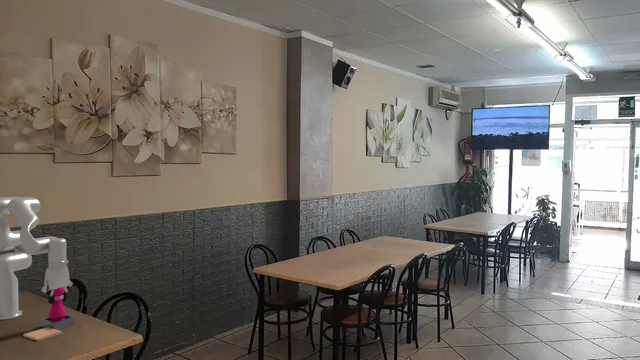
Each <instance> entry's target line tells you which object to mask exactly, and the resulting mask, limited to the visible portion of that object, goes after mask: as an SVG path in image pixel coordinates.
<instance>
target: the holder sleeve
mask: <svg viewBox="0 0 640 360" xmlns="http://www.w3.org/2000/svg"><path fill="white" fill-rule="evenodd" d="M76 317H77V316H74V315H70V314H67V313H66V316H65V317H64V319H65V320H61V321H58V322H52V321H50V320H51V319H50V318H49V316H48V317H44V318H41V319H40V327H41V328H46V327H49V328H52V329H56V330H62V329H64V328H68V327H70V326H74V325H76V324H77V322H76V321H77V318H76Z"/></svg>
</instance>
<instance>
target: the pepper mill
mask: <svg viewBox="0 0 640 360" xmlns="http://www.w3.org/2000/svg"><path fill="white" fill-rule="evenodd" d="M64 291H65V289H64V287H59V288H57V289H55V290H54V293H53V296H54V304H51V307H50V309H49V312H48V317H49V318H50V319H51V320H50V321H52V322H58V321H61V320H65V319H64V317H65V316H66V314H67V311H66V309H65V306H64V304H63V301H62V298H63V293H64Z"/></svg>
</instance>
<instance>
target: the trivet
mask: <svg viewBox="0 0 640 360" xmlns="http://www.w3.org/2000/svg"><path fill="white" fill-rule="evenodd" d="M61 334H63V331H62V330H60V329H58V330H56V329H52V328H49V327H46V328H44V327H42V328H41V329H38V330H37V329H36V330H33V331H29V332H26V333H24V334H23V338H27V339H29V340H33V341H36V342H39V341H43V340H45V339H50V338H52V337H55V336H58V335H61Z"/></svg>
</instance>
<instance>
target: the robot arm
mask: <svg viewBox="0 0 640 360" xmlns="http://www.w3.org/2000/svg"><path fill="white" fill-rule="evenodd" d="M41 208H42V207H41V202H40V201H39V199H37V198H36V197H33V196H32V197H31V196H7V197H6V196H4V197H3V196H1V197H0V252H1V253H2V252H6V253H3V254H0V321H2V320H10V319H14V318H17V317H20V316H22V315H23V311H22V310H20V309H19V279H18V277H17V276H16V274H15V273H14V272H17V271H21V270H25V269H28V268H29V267H31V265H32V264H33V259H32V258H33V257H32V255H33V256H36V255H40V254H41V255H42V254H46V253H47V254H48V255H47V257H48V258H47V259H48V267H47V268H46V270H45V273H44V274H45V275H44V283H43V284H44V285H43V287H42V288H41V290H40V291H41V292H43V293H44V294H45V295H46V296H47V300H48V301H47V302H48V304H50V305H52V304H54V296H53V293H54V290H55V289H57V288H59V287H64V289H65V291H64V293H63V298H62V302H66V301H67V297H68V295H67V293H68V291H69V290H70V288H72V286H73V285H74V283H73V282H72V281H71V280H70V272H69V268H68V264H69V260H68V259H67V240H66V239H65V238H63V237H62V238H61V237H60V238H59V237H56V236H44V237H36V238H35V237H33V235H32V233H31V232H30V231H31V230H33V229H34V228H36V227H37V226H39V225H38V224H39V223H40V218H39V217H38V215H37V214H38V213H39V212H40V210H41ZM8 214H9V215H10V214H11V216H12V217H13V219H14V220H15V221H16V223H17V225H19V227H20V230H11V227H10V224H9V221H8V220H7V219H6V217H4V216H3V215H8ZM13 250H14V251H13ZM8 251H9V252H8ZM10 251H13V252H10Z"/></svg>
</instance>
